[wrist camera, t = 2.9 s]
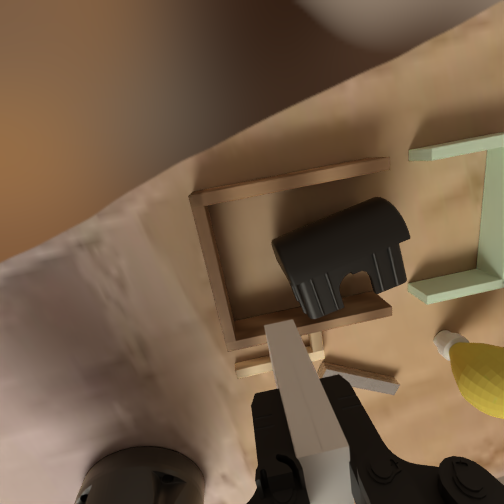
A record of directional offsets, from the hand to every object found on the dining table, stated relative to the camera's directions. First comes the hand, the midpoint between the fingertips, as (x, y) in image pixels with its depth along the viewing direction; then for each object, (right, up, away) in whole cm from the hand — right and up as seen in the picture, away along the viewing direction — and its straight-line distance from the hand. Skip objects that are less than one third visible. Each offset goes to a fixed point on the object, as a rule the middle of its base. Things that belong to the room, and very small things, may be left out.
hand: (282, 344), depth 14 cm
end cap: (+6, +6, +14) cm, 16 cm away
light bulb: (+21, -6, +19) cm, 29 cm away
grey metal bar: (+11, -10, +20) cm, 25 cm away
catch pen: (+19, +8, +14) cm, 25 cm away
